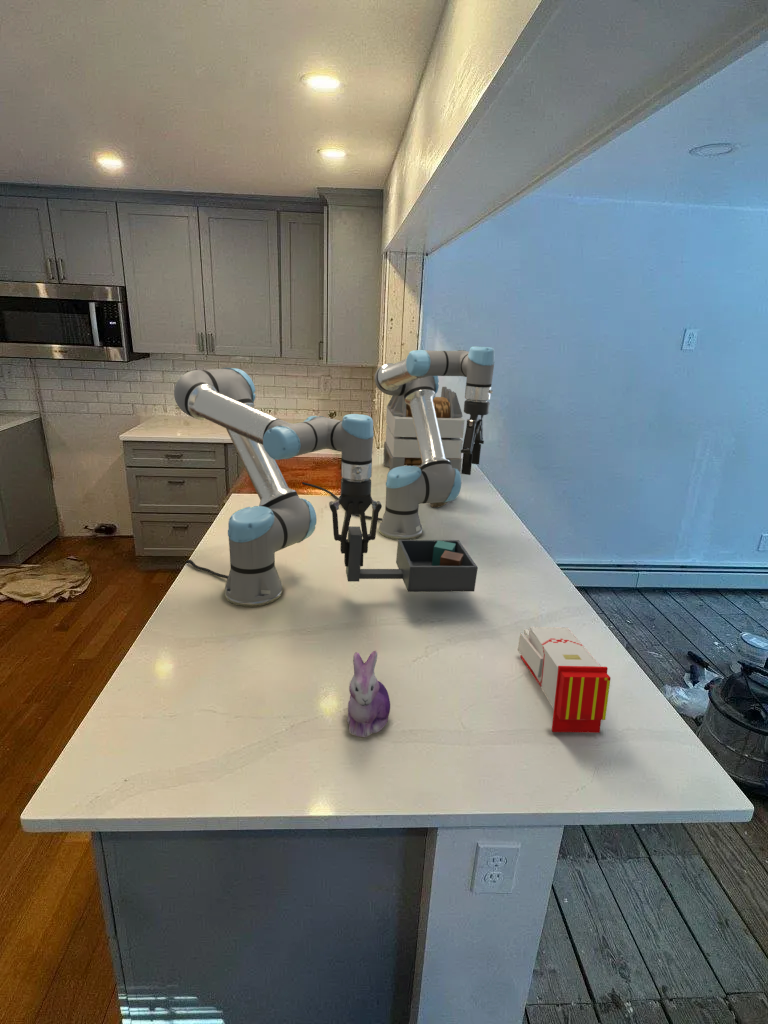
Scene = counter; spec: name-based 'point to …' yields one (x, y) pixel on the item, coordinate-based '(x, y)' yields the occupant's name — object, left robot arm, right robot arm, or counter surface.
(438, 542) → the teal block
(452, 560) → the walnut block
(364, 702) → the figurine
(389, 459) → the grey slatted crate
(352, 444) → the left robot arm
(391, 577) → the box
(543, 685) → the toy
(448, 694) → the counter surface
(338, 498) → the right robot arm
